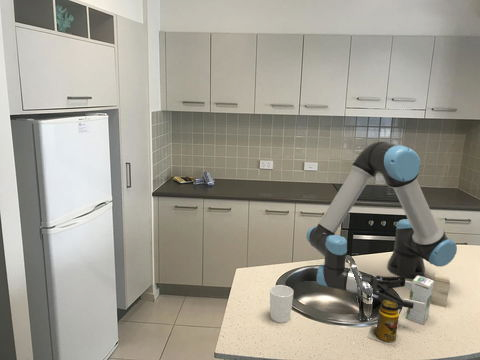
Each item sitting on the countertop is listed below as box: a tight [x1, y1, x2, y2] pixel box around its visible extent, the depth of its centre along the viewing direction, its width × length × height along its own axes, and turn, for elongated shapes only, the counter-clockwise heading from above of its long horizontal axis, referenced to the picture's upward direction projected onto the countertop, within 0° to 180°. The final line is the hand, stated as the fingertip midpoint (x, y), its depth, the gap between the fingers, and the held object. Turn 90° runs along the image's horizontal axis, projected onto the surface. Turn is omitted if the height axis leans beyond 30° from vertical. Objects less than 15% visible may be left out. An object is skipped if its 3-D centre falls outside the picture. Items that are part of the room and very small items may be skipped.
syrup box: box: [405, 276, 434, 325], centre depth 134 cm, size 6×6×14 cm
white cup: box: [269, 284, 294, 324], centre depth 133 cm, size 8×8×10 cm
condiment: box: [367, 300, 400, 347], centre depth 125 cm, size 7×8×12 cm
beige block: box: [430, 273, 451, 308], centre depth 146 cm, size 5×5×10 cm
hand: (424, 297), depth 133 cm, fingers open, 13 cm apart
